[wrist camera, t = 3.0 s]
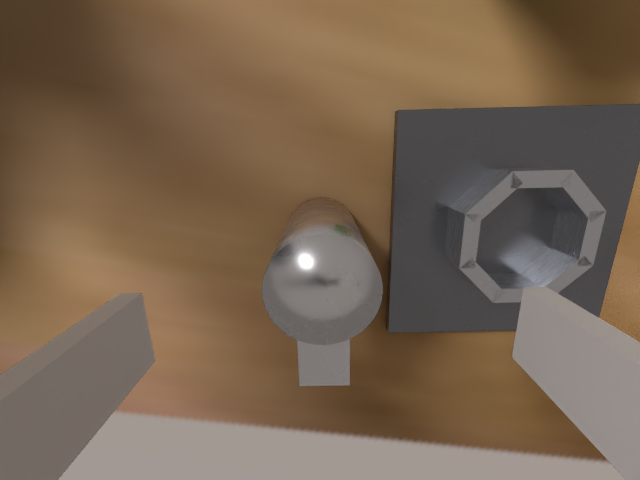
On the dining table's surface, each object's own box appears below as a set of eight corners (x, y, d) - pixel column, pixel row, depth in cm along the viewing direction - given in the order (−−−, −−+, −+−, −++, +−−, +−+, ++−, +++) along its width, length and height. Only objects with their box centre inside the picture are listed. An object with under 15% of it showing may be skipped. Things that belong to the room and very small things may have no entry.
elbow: (285, 198, 22) (257, 235, 12) (356, 196, 22) (385, 233, 12) (290, 296, 24) (270, 394, 14) (355, 294, 24) (378, 392, 14)
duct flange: (395, 111, 20) (409, 104, 17) (641, 105, 20) (702, 96, 17) (386, 327, 24) (395, 353, 21) (587, 322, 24) (627, 348, 21)
